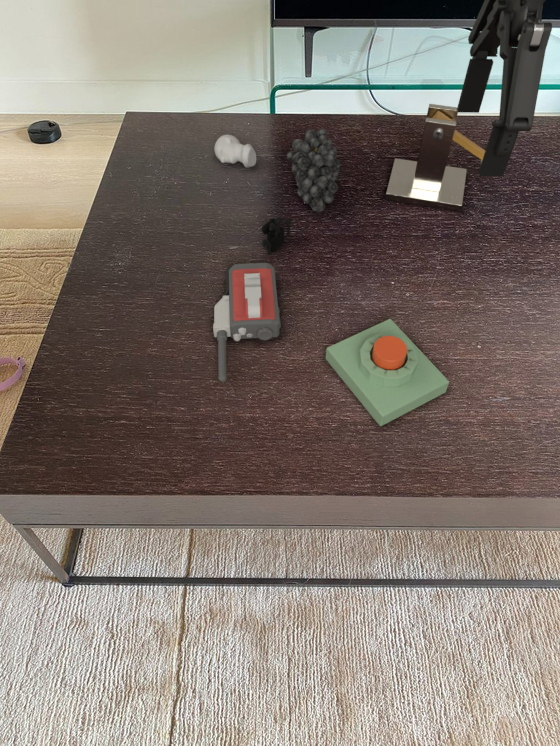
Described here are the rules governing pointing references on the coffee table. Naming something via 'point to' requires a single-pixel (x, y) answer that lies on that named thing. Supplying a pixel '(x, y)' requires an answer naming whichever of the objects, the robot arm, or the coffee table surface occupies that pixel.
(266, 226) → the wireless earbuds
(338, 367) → the switch box
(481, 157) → the switch lever
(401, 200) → the switch bracket
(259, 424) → the coffee table surface
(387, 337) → the switch button
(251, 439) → the coffee table surface
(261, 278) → the walkie-talkie
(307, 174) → the fruit
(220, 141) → the smooth white sculpture
